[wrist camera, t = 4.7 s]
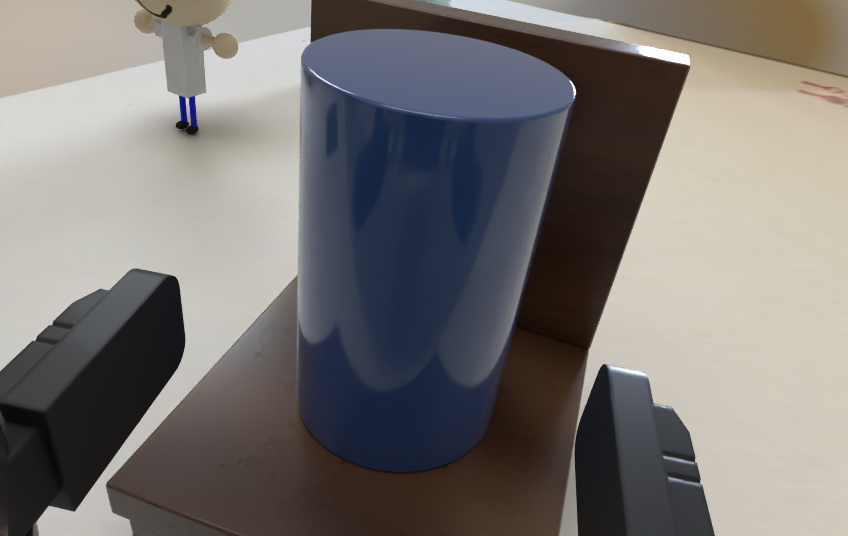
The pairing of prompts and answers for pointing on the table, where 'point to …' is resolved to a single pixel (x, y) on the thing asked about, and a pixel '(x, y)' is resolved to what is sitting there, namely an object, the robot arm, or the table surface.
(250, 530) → the miniature wooden chair
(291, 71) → the table surface
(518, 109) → the canister
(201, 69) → the toy
